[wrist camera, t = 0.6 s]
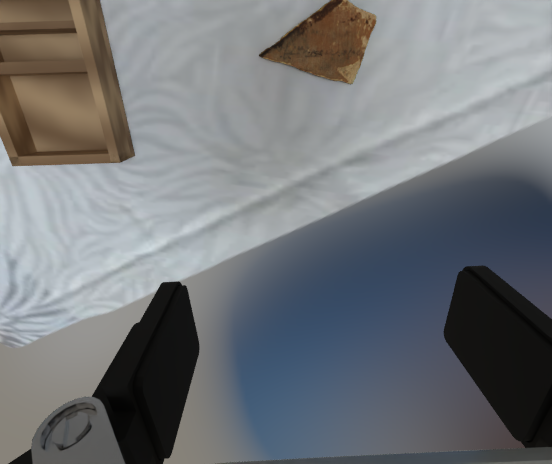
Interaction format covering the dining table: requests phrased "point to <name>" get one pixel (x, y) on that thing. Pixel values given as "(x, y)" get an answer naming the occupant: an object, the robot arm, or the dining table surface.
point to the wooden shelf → (59, 85)
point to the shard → (327, 42)
